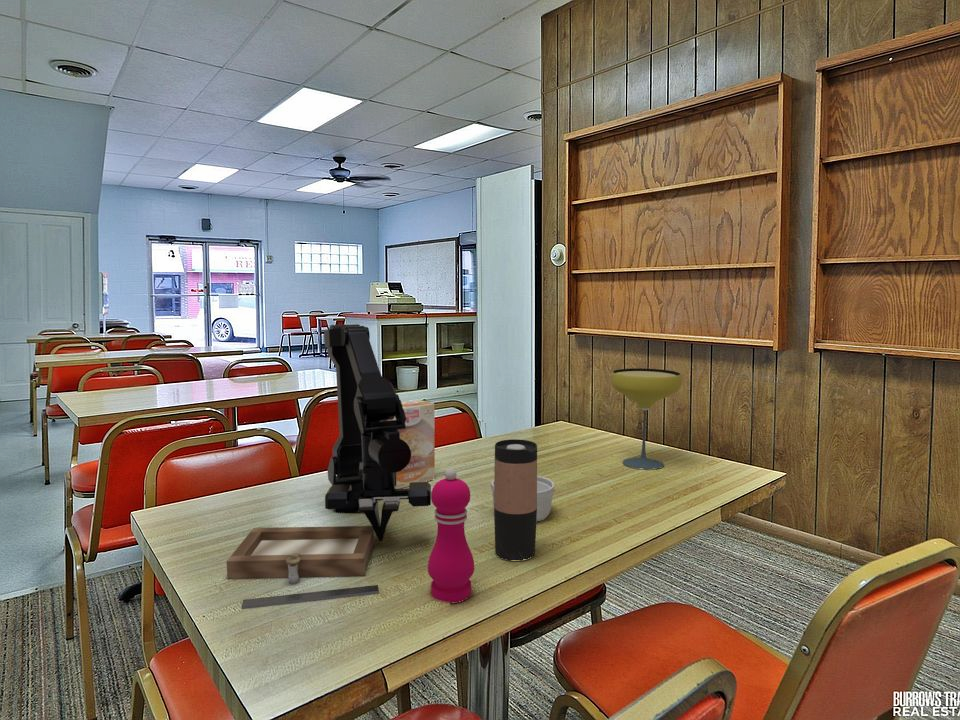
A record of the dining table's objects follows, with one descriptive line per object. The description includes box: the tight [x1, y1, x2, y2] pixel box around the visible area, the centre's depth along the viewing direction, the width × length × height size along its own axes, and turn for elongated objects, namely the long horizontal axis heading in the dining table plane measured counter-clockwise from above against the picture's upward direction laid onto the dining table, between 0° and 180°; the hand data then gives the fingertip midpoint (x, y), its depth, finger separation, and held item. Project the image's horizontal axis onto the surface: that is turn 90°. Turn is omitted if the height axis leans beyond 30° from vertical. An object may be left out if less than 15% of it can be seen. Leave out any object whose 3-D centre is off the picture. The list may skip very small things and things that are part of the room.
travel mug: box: [493, 438, 538, 561], centre depth 110 cm, size 8×8×20 cm
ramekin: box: [490, 475, 555, 523], centre depth 130 cm, size 13×13×7 cm
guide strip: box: [240, 584, 380, 610], centre depth 94 cm, size 20×2×1 cm, turn 104°
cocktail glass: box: [610, 367, 683, 469], centre depth 166 cm, size 18×18×25 cm
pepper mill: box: [427, 468, 475, 603], centre depth 95 cm, size 7×7×20 cm
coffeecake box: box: [384, 399, 436, 489], centre depth 150 cm, size 15×7×20 cm, turn 131°
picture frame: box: [225, 525, 375, 580], centre depth 106 cm, size 22×17×4 cm
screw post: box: [288, 563, 300, 585], centre depth 99 cm, size 2×2×4 cm
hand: (380, 540), depth 114 cm, fingers closed
